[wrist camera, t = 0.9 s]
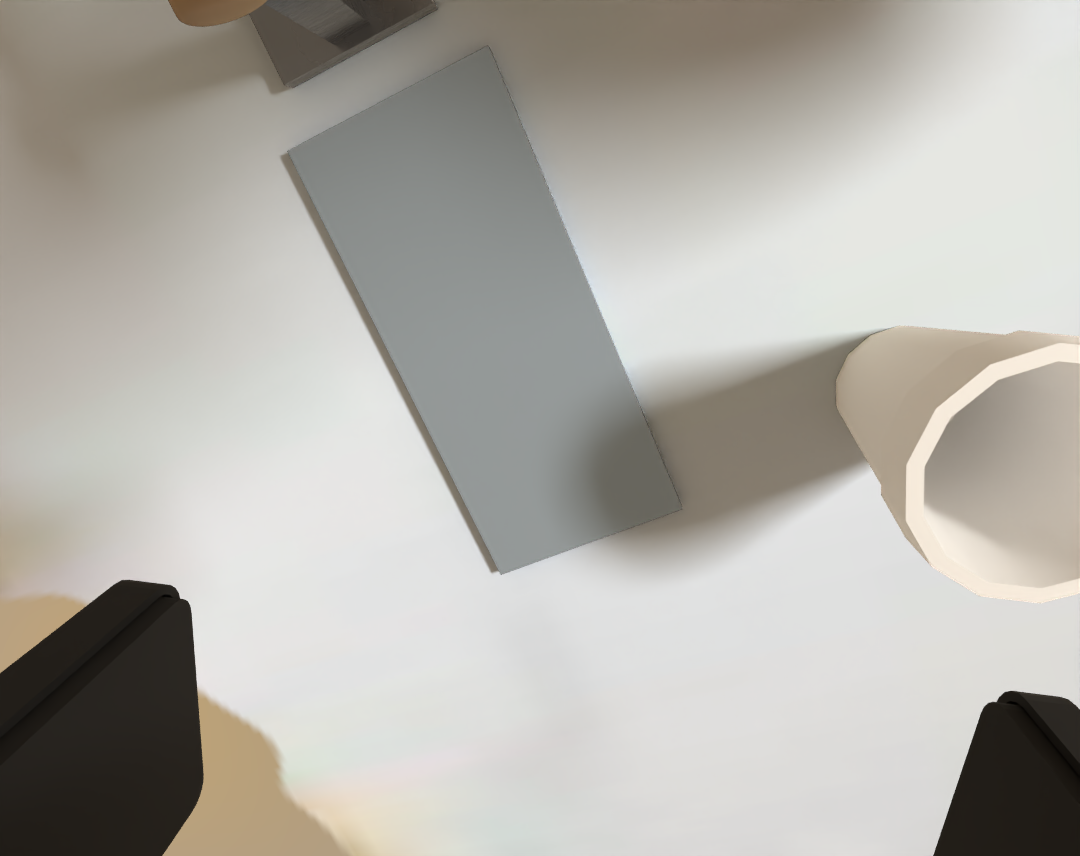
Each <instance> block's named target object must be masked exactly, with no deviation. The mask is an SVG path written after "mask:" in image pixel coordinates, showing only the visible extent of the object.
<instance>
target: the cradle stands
mask: <svg viewBox="0 0 1080 856" xmlns="http://www.w3.org/2000/svg"><path fill="white" fill-rule="evenodd" d="M437 9H438V8H437V6H436V3H435V1H434V0H267V1H266V2H265V3H264V4H263V5H262V6H260V7H259V8H257V9H256V10H254V11H253V12H251V13H249V15H250V17H251V19H252V21H253V23H254V25H255V27H256V29H257V31H258V33H259V35H260V37H261V39H262V41H263V43H264V45H265V47H266V49H267V51H268V53H269V55H270V57H271V59H272V61H273V63H274V65H275V67H276V69H277V72H278V74H279V76H280V78H281V80H282V82H283V84H284V85H286V86H288V87H291V88H294V87H296V86H298V85H300V84H302V83H303V82H305V81H307V80H309V79H311V78H313V77H314V76H316V75H318V74H320V73H322V72H324V71H325V70H327V69H329V68H331V67H333V66H335V65H336V64H338V63H340V62H342V61H344V60H346V59H347V58H349V57H351V56H353V55H355V54H357V53H358V52H360V51H362V50H364V49H366V48H368V47H369V46H371V45H373V44H375V43H377V42H379V41H380V40H382V39H384V38H386V37H388V36H390V35H391V34H393V33H395V32H397V31H399V30H401V29H402V28H404V27H406V26H408V25H410V24H412V23H413V22H415V21H417V20H419V19H421V18H423V17H424V16H426V15H428V14H430V13H432V12H434V11H435V10H437Z"/></svg>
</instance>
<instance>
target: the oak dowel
mask: <svg viewBox="0 0 1080 856" xmlns="http://www.w3.org/2000/svg"><path fill="white" fill-rule="evenodd" d="M168 1H169V3H170V5H171V7H172V9H173V11H174V13H175V14H176V16H177V18H178V19H179V20H180V21H181V22H183V23H184V24H187V25H191V26H199V27H204V26H214V25H219V24H224V23H227V22H230V21H233V20H236V19H239V18H241V17H243V16H245V15H247V14H249V13H251V12H253V11H254V10H256V9H257V8H259V7H260V6H262V5H263V4H264V3H265V2H266V1H267V0H168Z"/></svg>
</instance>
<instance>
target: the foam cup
mask: <svg viewBox="0 0 1080 856" xmlns="http://www.w3.org/2000/svg"><path fill="white" fill-rule="evenodd" d="M836 407H837V409H838V411H839V413H840V415H841V416H842V418H843V420H844V422H845V423H846V425H847V427H848V429H849V430H850V432H851V434H852V436H853V437H854V439H855V441H856V442H857V444H858V446H859V448H860V449H861V451H862V453H863V455H864V456H865V458H866V460H867V461H868V463H869V465H870V467H871V468H872V470H873V472H874V474H875V475H876V477H877V479H878V480H879V482H880V484H881V496H882V497H883V499H884V501H885V503H886V504H887V506H888V508H889V510H890V511H891V513H892V515H893V517H894V518H895V520H896V522H897V524H898V525H899V527H900V529H901V531H902V532H903V534H904V536H905V538H906V539H907V540H908V541H909V542H910V543H911V544H912V546H913V547H914V548H915V549H916V550H917V551H918V552H919V553H920V554H921V555H922V557H923V558H924V559H925V560H926V561H927V562H928V563H929V564H930V565H931V567H933V568H934V569H936V570H938V571H939V572H941V573H942V574H944V575H946V576H947V577H949V578H951V579H952V580H954V581H956V582H957V583H959V584H961V585H962V586H964V587H965V588H967V589H969V590H970V591H972V592H974V593H975V594H977V595H979V596H983V597H991V598H1000V599H1008V600H1016V601H1025V602H1033V603H1043V602H1047V601H1051V600H1055V599H1059V598H1063V597H1067V596H1071V595H1075V594H1079V593H1080V336H1070V335H1060V334H1050V333H1040V332H1030V331H1016V332H1013V333H1009V334H1006V335H1002V334H991V333H980V332H969V331H958V330H947V329H936V328H925V327H914V326H896V327H893V328H890V329H887V330H884V331H881V332H878V333H875V334H872V335H870V336H869V337H868V338H867V339H865V340H864V341H863V342H862V343H861V344H860V345H858V346H857V347H856V348H855V349H854V350H853V351H852V352H850V353H849V354H848V356H847V358H846V360H845V362H844V364H843V366H842V368H841V370H840V373H839V375H838V377H837V379H836Z"/></svg>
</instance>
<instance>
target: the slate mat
mask: <svg viewBox="0 0 1080 856" xmlns="http://www.w3.org/2000/svg"><path fill="white" fill-rule="evenodd" d="M287 152H288V154H289V156H290V158H291V160H292V162H293V164H294V166H295V168H296V170H297V172H298V174H299V176H300V178H301V180H302V182H303V184H304V186H305V188H306V190H307V192H308V194H309V196H310V198H311V200H312V202H313V204H314V206H315V208H316V209H317V211H318V213H319V215H320V217H321V219H322V221H323V223H324V225H325V227H326V229H327V231H328V233H329V235H330V237H331V239H332V241H333V243H334V245H335V247H336V249H337V251H338V253H339V255H340V257H341V259H342V261H343V263H344V265H345V267H346V269H347V271H348V273H349V275H350V277H351V279H352V281H353V283H354V285H355V287H356V289H357V291H358V293H359V295H360V297H361V299H362V301H363V303H364V305H365V307H366V309H367V311H368V313H369V315H370V317H371V319H372V320H373V322H374V324H375V326H376V328H377V330H378V332H379V334H380V336H381V338H382V340H383V342H384V344H385V346H386V348H387V350H388V352H389V354H390V356H391V358H392V360H393V362H394V364H395V366H396V368H397V370H398V372H399V374H400V376H401V378H402V380H403V382H404V384H405V386H406V388H407V390H408V392H409V394H410V396H411V398H412V400H413V402H414V404H415V406H416V408H417V410H418V412H419V414H420V416H421V418H422V420H423V422H424V424H425V426H426V428H427V430H428V432H429V433H430V435H431V437H432V439H433V441H434V443H435V445H436V447H437V449H438V451H439V453H440V455H441V457H442V459H443V461H444V463H445V465H446V467H447V469H448V471H449V473H450V475H451V477H452V479H453V481H454V483H455V485H456V487H457V489H458V491H459V493H460V495H461V497H462V499H463V501H464V503H465V505H466V507H467V509H468V511H469V513H470V515H471V517H472V519H473V521H474V523H475V525H476V527H477V529H478V531H479V533H480V535H481V537H482V539H483V541H484V543H485V545H486V546H487V548H488V550H489V552H490V554H491V556H492V558H493V560H494V562H495V564H496V566H497V568H498V570H499V572H500V574H501V575H502V574H505V573H508V572H510V571H513V570H516V569H519V568H521V567H524V566H527V565H530V564H532V563H535V562H538V561H541V560H543V559H546V558H549V557H552V556H554V555H557V554H560V553H563V552H565V551H568V550H571V549H574V548H576V547H579V546H582V545H585V544H588V543H590V542H593V541H596V540H599V539H601V538H604V537H607V536H610V535H612V534H615V533H618V532H621V531H623V530H626V529H629V528H632V527H634V526H637V525H640V524H643V523H645V522H648V521H651V520H654V519H656V518H659V517H662V516H665V515H668V514H670V513H673V512H676V511H679V510H681V509H682V506H681V503H680V501H679V498H678V496H677V493H676V491H675V489H674V486H673V484H672V481H671V479H670V477H669V474H668V472H667V470H666V467H665V465H664V462H663V460H662V458H661V455H660V453H659V450H658V448H657V446H656V443H655V441H654V439H653V436H652V434H651V431H650V429H649V427H648V424H647V422H646V420H645V417H644V415H643V412H642V410H641V408H640V405H639V403H638V400H637V398H636V396H635V393H634V391H633V389H632V386H631V384H630V381H629V379H628V377H627V374H626V372H625V369H624V367H623V365H622V362H621V360H620V358H619V355H618V353H617V350H616V348H615V346H614V343H613V341H612V338H611V336H610V334H609V331H608V329H607V327H606V324H605V322H604V319H603V317H602V315H601V312H600V310H599V308H598V305H597V303H596V300H595V298H594V296H593V293H592V291H591V288H590V286H589V284H588V281H587V279H586V277H585V274H584V272H583V269H582V267H581V265H580V262H579V260H578V257H577V255H576V253H575V250H574V248H573V246H572V243H571V241H570V238H569V236H568V234H567V231H566V229H565V226H564V224H563V222H562V219H561V217H560V215H559V212H558V210H557V207H556V205H555V203H554V200H553V198H552V196H551V193H550V191H549V188H548V186H547V184H546V181H545V179H544V176H543V174H542V172H541V169H540V167H539V165H538V162H537V160H536V157H535V155H534V153H533V150H532V148H531V145H530V143H529V141H528V138H527V136H526V134H525V131H524V129H523V126H522V124H521V122H520V119H519V117H518V114H517V112H516V110H515V107H514V105H513V103H512V100H511V98H510V95H509V93H508V91H507V88H506V86H505V83H504V81H503V79H502V76H501V74H500V72H499V69H498V67H497V64H496V62H495V60H494V57H493V55H492V53H491V50H490V48H489V47H488V46H486V47H484V48H482V49H480V50H478V51H476V52H475V53H473V54H471V55H469V56H467V57H465V58H463V59H461V60H459V61H457V62H456V63H454V64H452V65H450V66H448V67H446V68H444V69H442V70H440V71H438V72H436V73H435V74H433V75H431V76H429V77H427V78H425V79H423V80H421V81H419V82H417V83H416V84H414V85H412V86H410V87H408V88H406V89H404V90H402V91H400V92H398V93H397V94H395V95H393V96H391V97H389V98H387V99H385V100H383V101H381V102H379V103H378V104H376V105H374V106H372V107H370V108H368V109H366V110H364V111H362V112H360V113H359V114H357V115H355V116H353V117H351V118H349V119H347V120H345V121H343V122H341V123H340V124H338V125H336V126H334V127H332V128H330V129H328V130H326V131H324V132H322V133H321V134H319V135H317V136H315V137H313V138H311V139H309V140H307V141H305V142H303V143H302V144H300V145H298V146H296V147H294V148H292V149H290V150H288V151H287Z"/></svg>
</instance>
